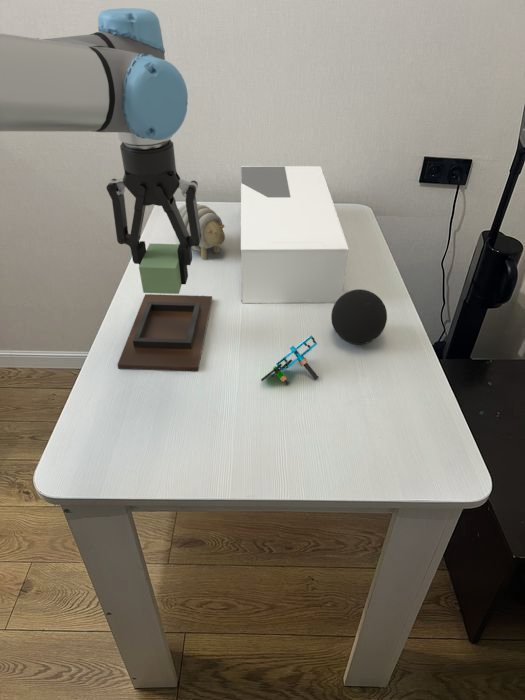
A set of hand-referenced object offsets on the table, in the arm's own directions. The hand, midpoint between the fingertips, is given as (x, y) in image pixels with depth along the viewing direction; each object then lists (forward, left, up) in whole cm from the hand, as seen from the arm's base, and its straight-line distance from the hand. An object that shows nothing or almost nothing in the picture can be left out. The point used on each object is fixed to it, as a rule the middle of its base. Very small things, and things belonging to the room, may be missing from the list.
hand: (165, 279), depth 85 cm
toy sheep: (+13, +31, -13) cm, 36 cm away
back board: (0, +1, -12) cm, 13 cm away
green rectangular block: (0, 0, 0) cm, 0 cm away
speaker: (+33, -12, -13) cm, 37 cm away
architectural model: (+32, +25, -13) cm, 42 cm away
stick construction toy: (+18, -18, -13) cm, 28 cm away
